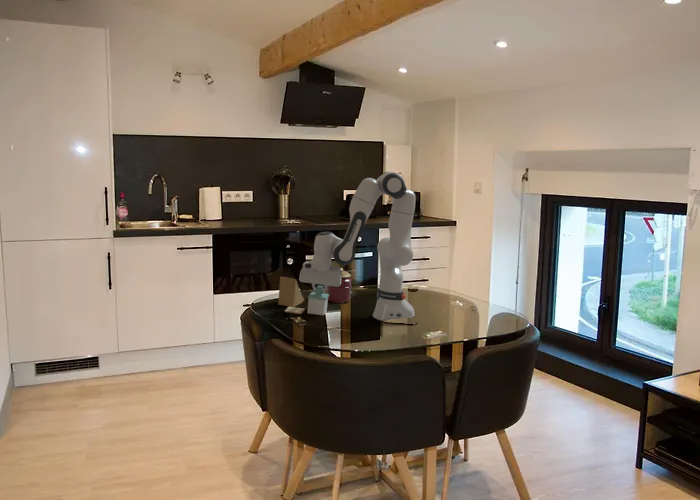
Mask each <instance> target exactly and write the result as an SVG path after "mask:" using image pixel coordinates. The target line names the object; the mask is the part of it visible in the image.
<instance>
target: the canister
mask: <svg viewBox="0 0 700 500" xmlns="http://www.w3.org/2000/svg"><path fill="white" fill-rule="evenodd" d="M339 268H340V269H342V271H343V272H342V276H341V285H340V286H339V287H335V286H328V287H327V288H326V292H325V294H329V297H328V300H329V301H328V302H330V301H332V302H331V303H333V302H334V304H342V303H341V302H347V301H349V300H351V291H352V282H353V279H352V278H351V277H352V274H351V273H349V272H348V271H345V270H344V269H343V267H339ZM349 302H350V301H349Z"/></svg>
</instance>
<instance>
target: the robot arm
mask: <svg viewBox="0 0 700 500" xmlns="http://www.w3.org/2000/svg"><path fill="white" fill-rule="evenodd" d="M382 195H387V196H389V197H391V200H392V205H391V210H390V215H389V221H388V226H387V227H388V231H389V237H384V238H381V239H380V240H379V241H378V243H377V244H376V245H377V247H376V249H377V253H378V257H379V267H380V268H379V270H380V275H379V277H380V278H379V286H378V289H377V294H376V304H375V308H374V311H373V313H372V317H373V318H374V319H376V320H377V321H381V320H382V321H387V320H390V319H403V318H412V317H413V316H415V309H414V307H413V306H412V304H410V302H409V301H407V300H406V296H407V295H406V293H405V291H403V281H404V275H403V270H402V267H404V266H408V265H409V264H410V263H412V261H413V259H414V251H413V249H412V248H413V247H412V227H413V226H412V225H413V220H414V216H415V211H416V210H415V209H416V194H415V192H414V191H412V190H410V189H408V188H407V185H406V183H405V180H404V178H403V177H402V176H401V175H400V174H399V173H397V172H395V171H386V172H383V173H382V174H380V175H379V176H377V177H376V178H373V177H366V178H364V179H362V181H361V182H360V183H359V185H358V187H357V189H356V190H355V192H354V193H353V196H352V199H351V201H350V204H349V209H348V210H349V211H348V212H349V220H350V221H349V225H348V228H347V231H346V233H345V235H344V237H343V238H340V237H338V236H336V235H335V234H334V233H333V232H331V231H320V232H319V233H317V234H316V235H315V239H314V243H313V244H314V245H313V252H314V254H313V256H312V259H311V260H306V261H305V262H303V264H302V268H301V270H300V273H299V278H298V280H299V281H300V283H306V284H307V283H308V284H311V288H312V289H313V292H314V293H316V288H317V287H316V285H319V286H323V289H322V290H321V294H326V291H327V287H328V286H335V287H339V286H340V285H341V276H342V272H343V271H344V270H343V271H342V269H340V268H341V267H338V266H337V267H336V266H332V259H333V260H334V262H335V263H337V265H340V266H348V265H350V264H351V263H352V262H354V260H355V258H356V248H357V247H356V245H357V243H358V241H359V238H360V236H361V234H362V232H363V229H364V226H365V225H366V222H367V221H368V219H369V217H370V215H371V214H372V212H373V210H374V208H375V205H376V203H377V200H378V199H379V198H380V196H382ZM382 321H381V322H382Z"/></svg>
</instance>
